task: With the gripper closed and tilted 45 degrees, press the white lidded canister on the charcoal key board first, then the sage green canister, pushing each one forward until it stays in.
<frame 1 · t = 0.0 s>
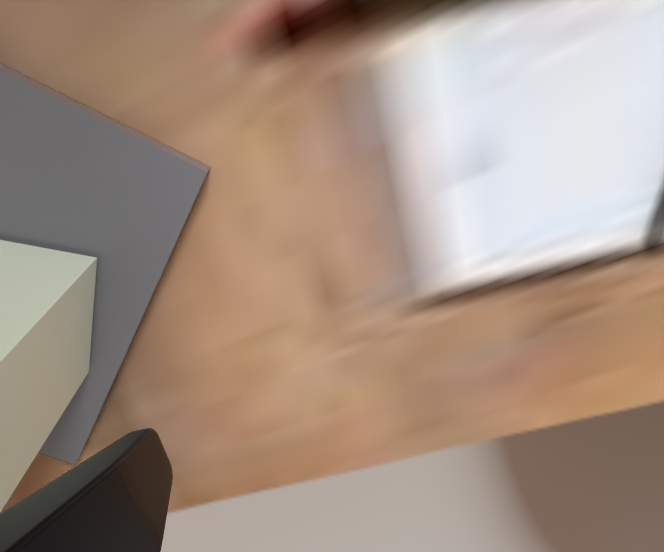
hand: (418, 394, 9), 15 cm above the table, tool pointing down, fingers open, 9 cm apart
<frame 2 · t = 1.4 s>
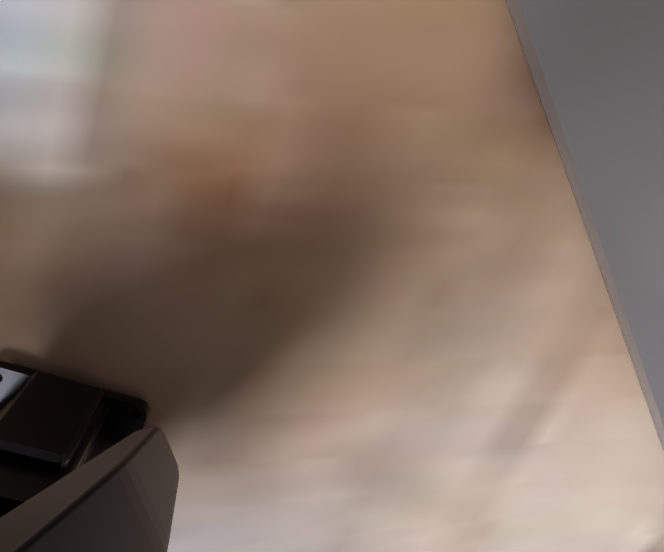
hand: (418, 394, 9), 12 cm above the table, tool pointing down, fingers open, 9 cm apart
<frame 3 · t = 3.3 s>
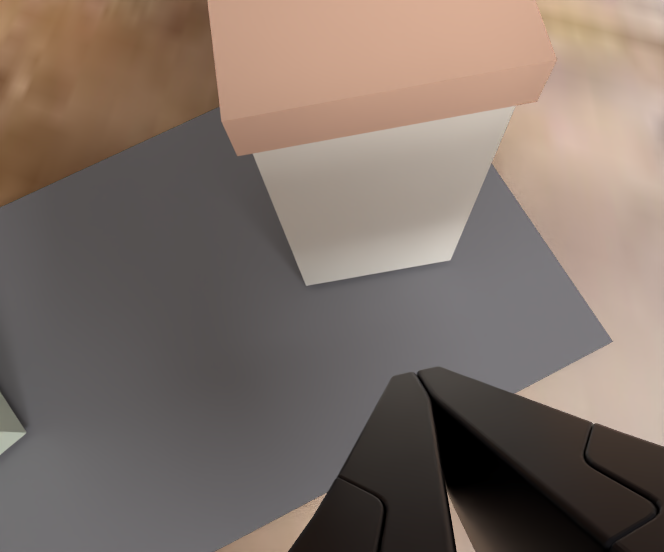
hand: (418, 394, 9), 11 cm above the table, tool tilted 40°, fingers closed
white lidded canister: (362, 126, 16), point 7 cm above the table, slide at 0.0 cm
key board: (181, 327, 21), on the table
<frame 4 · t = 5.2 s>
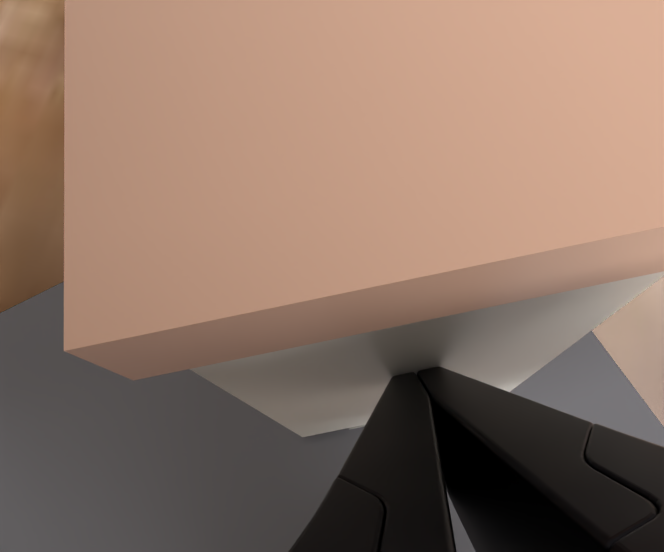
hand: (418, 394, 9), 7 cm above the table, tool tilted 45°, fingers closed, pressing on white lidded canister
white lidded canister: (378, 236, 10), point 7 cm above the table, slide at 1.3 cm, touching gripper
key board: (135, 539, 15), on the table
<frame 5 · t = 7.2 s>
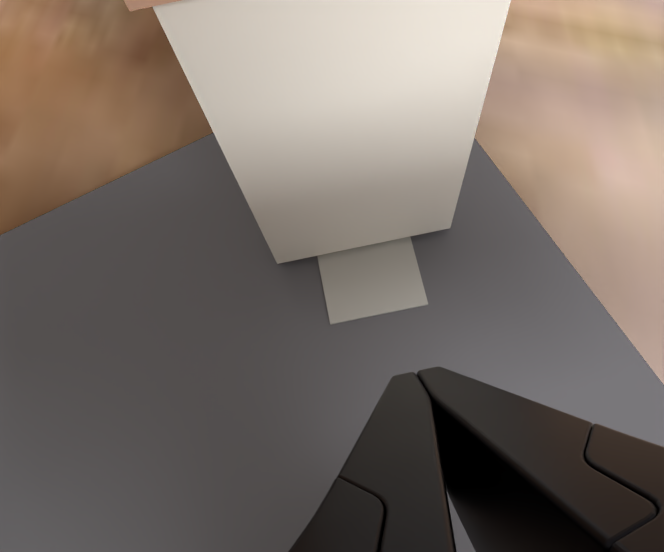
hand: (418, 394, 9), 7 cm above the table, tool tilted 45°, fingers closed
white lidded canister: (331, 43, 13), point 7 cm above the table, slide at 3.5 cm
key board: (137, 426, 17), on the table
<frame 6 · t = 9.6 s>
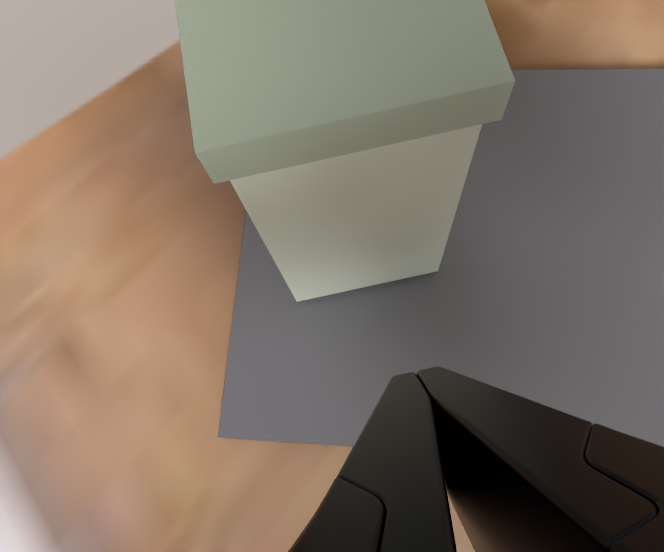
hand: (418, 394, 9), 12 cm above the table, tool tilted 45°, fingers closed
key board: (591, 252, 21), on the table
sage green canister: (342, 145, 16), point 7 cm above the table, slide at 0.0 cm
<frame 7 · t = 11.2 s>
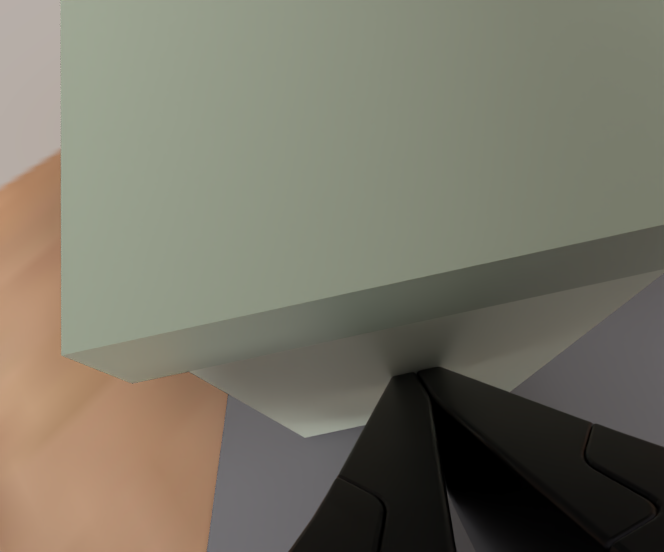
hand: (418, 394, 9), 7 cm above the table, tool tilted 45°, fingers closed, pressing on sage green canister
sage green canister: (378, 236, 10), point 7 cm above the table, slide at 0.6 cm, touching gripper
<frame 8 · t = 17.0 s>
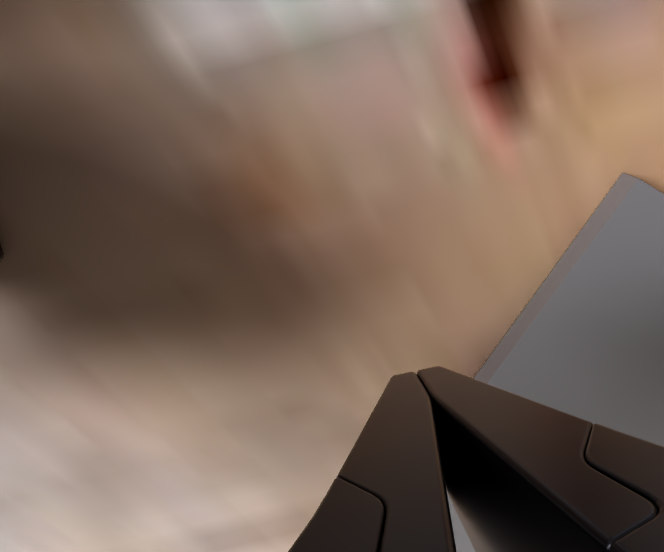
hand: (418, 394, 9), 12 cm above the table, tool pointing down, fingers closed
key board: (562, 496, 27), on the table
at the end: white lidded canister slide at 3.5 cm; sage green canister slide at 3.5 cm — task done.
